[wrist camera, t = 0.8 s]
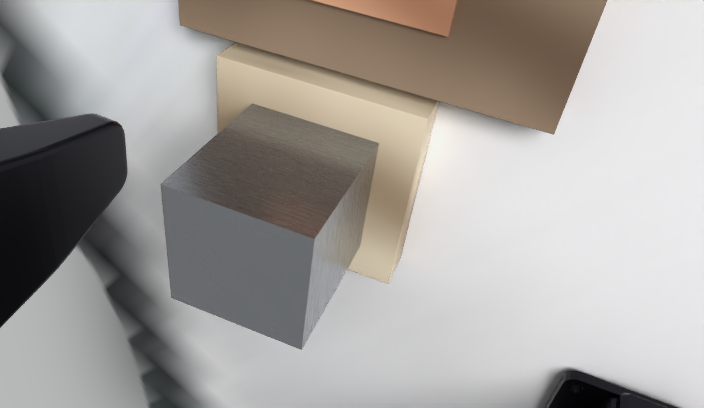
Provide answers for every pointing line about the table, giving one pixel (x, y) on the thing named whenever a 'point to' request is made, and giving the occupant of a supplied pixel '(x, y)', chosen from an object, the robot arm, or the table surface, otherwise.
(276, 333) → the grey angular block
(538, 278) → the table surface
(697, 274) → the table surface
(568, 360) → the table surface
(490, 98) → the rack board
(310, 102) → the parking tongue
